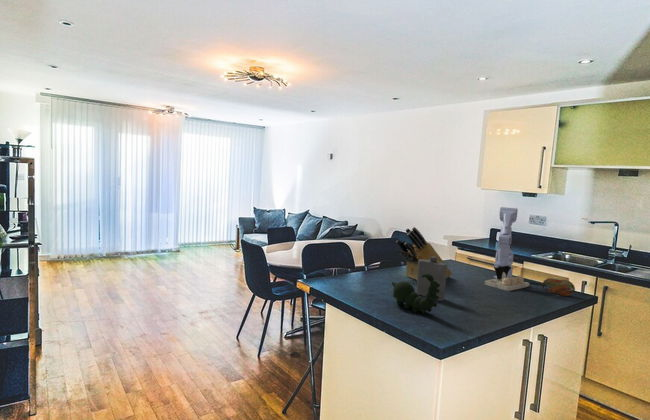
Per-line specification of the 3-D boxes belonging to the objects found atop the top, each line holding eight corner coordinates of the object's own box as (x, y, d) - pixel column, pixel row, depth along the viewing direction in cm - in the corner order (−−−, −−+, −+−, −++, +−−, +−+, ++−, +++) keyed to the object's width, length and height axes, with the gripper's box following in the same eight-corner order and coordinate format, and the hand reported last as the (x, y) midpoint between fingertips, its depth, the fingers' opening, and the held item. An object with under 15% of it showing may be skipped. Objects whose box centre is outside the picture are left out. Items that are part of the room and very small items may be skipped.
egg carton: (504, 281, 233) (505, 277, 233) (528, 287, 221) (529, 282, 221) (484, 285, 221) (484, 280, 221) (508, 292, 209) (508, 287, 209)
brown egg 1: (504, 286, 217) (505, 276, 217) (511, 288, 214) (512, 278, 213) (499, 287, 215) (500, 277, 214) (507, 289, 211) (508, 279, 211)
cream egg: (499, 280, 227) (500, 270, 226) (506, 281, 223) (507, 271, 222) (495, 280, 224) (496, 270, 224) (502, 282, 220) (503, 272, 220)
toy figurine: (439, 318, 166) (396, 297, 186) (446, 276, 164) (401, 259, 183) (425, 322, 161) (382, 300, 180) (432, 279, 158) (387, 261, 177)
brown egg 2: (517, 284, 225) (518, 274, 225) (524, 286, 221) (525, 276, 221) (513, 284, 222) (513, 275, 222) (520, 286, 219) (521, 276, 218)
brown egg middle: (510, 285, 221) (511, 275, 221) (518, 287, 218) (519, 277, 217) (506, 286, 219) (507, 276, 218) (514, 288, 215) (514, 278, 215)
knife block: (392, 277, 228) (395, 225, 226) (439, 273, 243) (442, 225, 241) (403, 282, 218) (407, 227, 216) (451, 278, 233) (455, 227, 231)
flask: (447, 299, 190) (450, 259, 188) (441, 301, 186) (444, 260, 184) (420, 292, 200) (423, 253, 199) (414, 293, 196) (416, 255, 195)
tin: (541, 292, 212) (543, 277, 211) (541, 291, 215) (542, 276, 214) (574, 297, 205) (575, 282, 204) (573, 296, 208) (575, 280, 207)
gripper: (504, 253, 230) (502, 275, 231) (489, 255, 221) (487, 278, 223) (515, 255, 224) (513, 278, 225) (501, 257, 216) (499, 281, 217)
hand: (501, 278), depth 223 cm, fingers closed on cream egg, 4 cm apart
